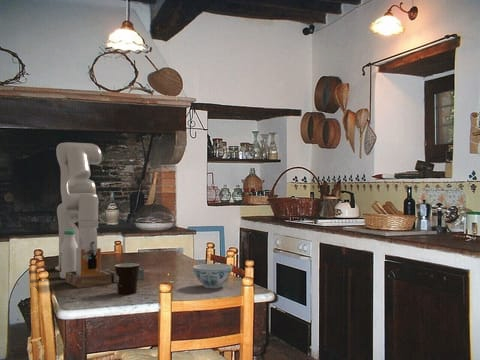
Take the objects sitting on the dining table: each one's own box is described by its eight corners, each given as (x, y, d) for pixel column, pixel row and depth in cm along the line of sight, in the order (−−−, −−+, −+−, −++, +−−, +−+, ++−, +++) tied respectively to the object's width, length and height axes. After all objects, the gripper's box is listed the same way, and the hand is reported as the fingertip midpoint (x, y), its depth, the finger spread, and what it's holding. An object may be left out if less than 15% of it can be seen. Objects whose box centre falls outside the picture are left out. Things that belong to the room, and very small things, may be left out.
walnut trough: (65, 282, 201) (65, 272, 201) (97, 278, 209) (97, 269, 209) (78, 288, 188) (78, 277, 188) (111, 284, 196) (111, 274, 196)
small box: (80, 282, 194) (80, 249, 194) (75, 280, 199) (75, 247, 199) (101, 280, 198) (101, 247, 199) (95, 278, 204) (95, 246, 204)
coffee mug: (116, 290, 183) (117, 263, 183) (140, 290, 183) (140, 263, 184) (111, 297, 171) (111, 268, 171) (136, 297, 172) (136, 268, 172)
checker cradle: (103, 278, 208) (103, 269, 208) (133, 275, 215) (133, 266, 216) (113, 282, 199) (113, 272, 199) (143, 279, 206) (143, 269, 207)
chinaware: (207, 281, 200) (207, 262, 201) (239, 285, 193) (239, 265, 193) (185, 288, 188) (185, 267, 188) (218, 292, 180) (218, 270, 180)
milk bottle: (82, 276, 214) (82, 230, 215) (71, 279, 207) (71, 231, 207) (67, 275, 217) (67, 229, 217) (55, 278, 209) (56, 230, 210)
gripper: (72, 223, 204) (72, 265, 203) (86, 226, 190) (86, 271, 189) (90, 223, 208) (90, 264, 208) (105, 225, 194) (105, 269, 194)
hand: (88, 267), depth 199 cm, fingers open, 9 cm apart
